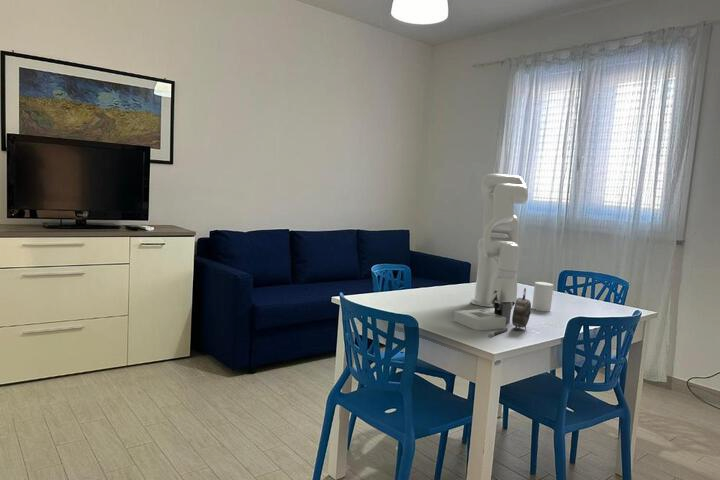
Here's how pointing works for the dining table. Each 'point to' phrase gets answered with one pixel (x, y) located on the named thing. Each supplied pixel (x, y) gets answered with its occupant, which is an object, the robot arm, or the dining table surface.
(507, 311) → the charger
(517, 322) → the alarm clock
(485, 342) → the dining table surface
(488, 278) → the robot arm
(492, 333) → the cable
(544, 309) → the cup
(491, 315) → the plate
